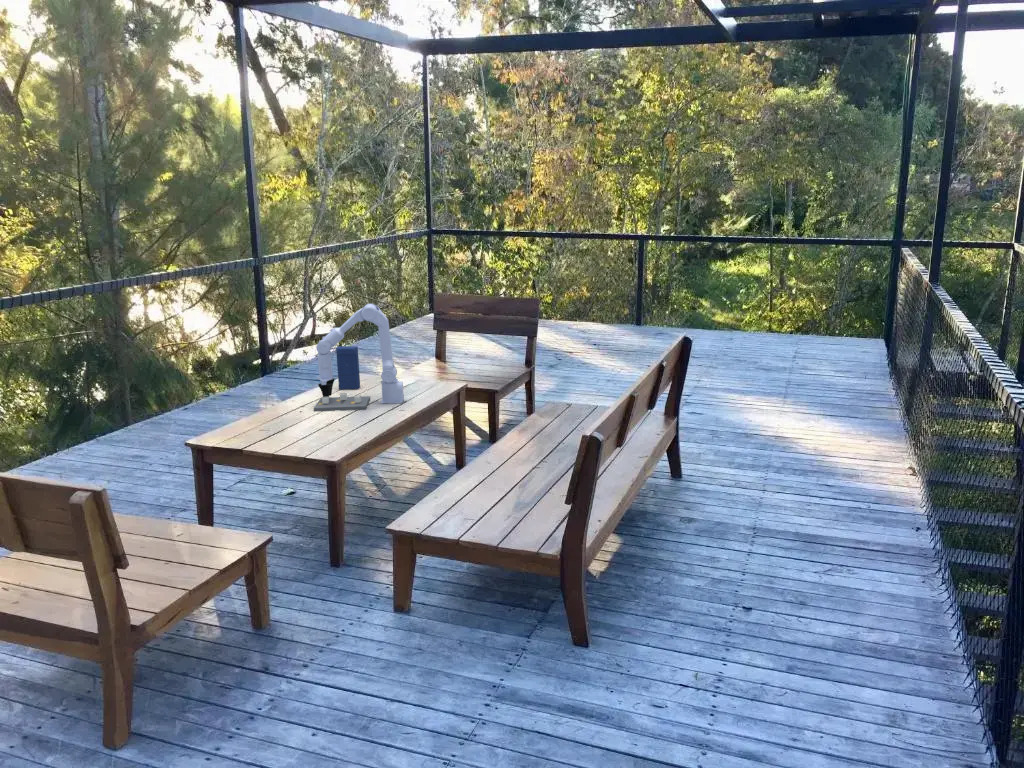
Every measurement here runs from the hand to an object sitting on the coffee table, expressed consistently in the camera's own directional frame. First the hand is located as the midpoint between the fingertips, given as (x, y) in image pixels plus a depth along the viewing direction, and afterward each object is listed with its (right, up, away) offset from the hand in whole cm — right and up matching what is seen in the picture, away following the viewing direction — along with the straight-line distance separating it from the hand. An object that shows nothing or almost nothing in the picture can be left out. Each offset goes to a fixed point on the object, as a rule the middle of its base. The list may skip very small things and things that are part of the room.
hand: (327, 397), depth 390 cm
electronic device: (+4, +4, +29) cm, 29 cm away
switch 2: (+7, -1, 0) cm, 7 cm away
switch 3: (+14, -2, -4) cm, 15 cm away
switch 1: (0, -2, -5) cm, 6 cm away
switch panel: (+7, -3, -2) cm, 8 cm away
